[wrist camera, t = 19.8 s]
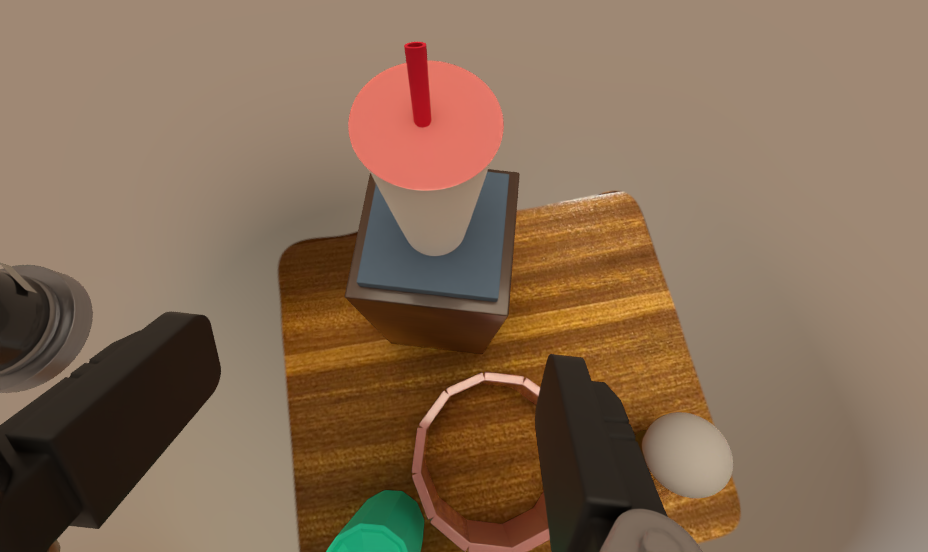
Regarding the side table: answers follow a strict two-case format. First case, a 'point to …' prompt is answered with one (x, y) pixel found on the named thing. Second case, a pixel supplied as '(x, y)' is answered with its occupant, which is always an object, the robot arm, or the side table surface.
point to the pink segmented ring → (488, 544)
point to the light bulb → (686, 454)
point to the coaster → (447, 275)
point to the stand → (435, 298)
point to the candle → (383, 526)
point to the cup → (427, 145)
